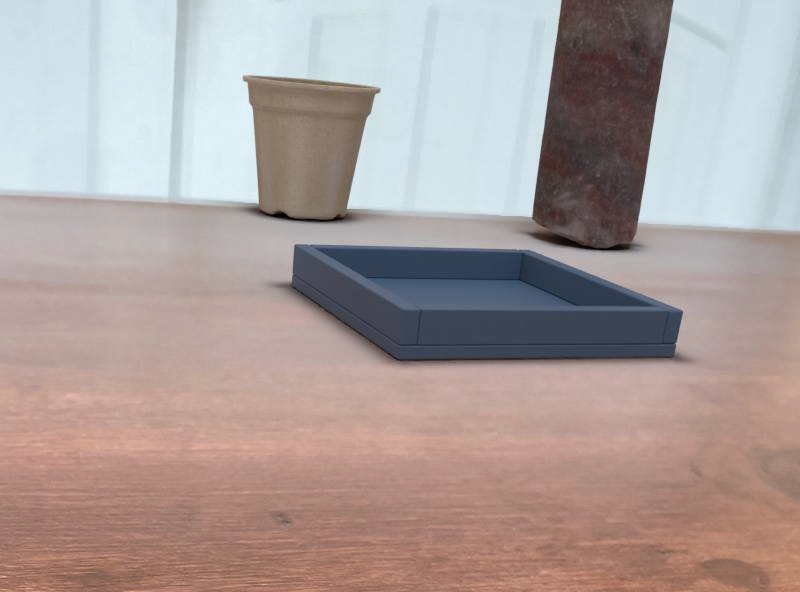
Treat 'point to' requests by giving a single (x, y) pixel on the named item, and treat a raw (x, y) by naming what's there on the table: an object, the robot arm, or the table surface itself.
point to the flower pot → (307, 143)
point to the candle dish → (481, 304)
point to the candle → (600, 118)
